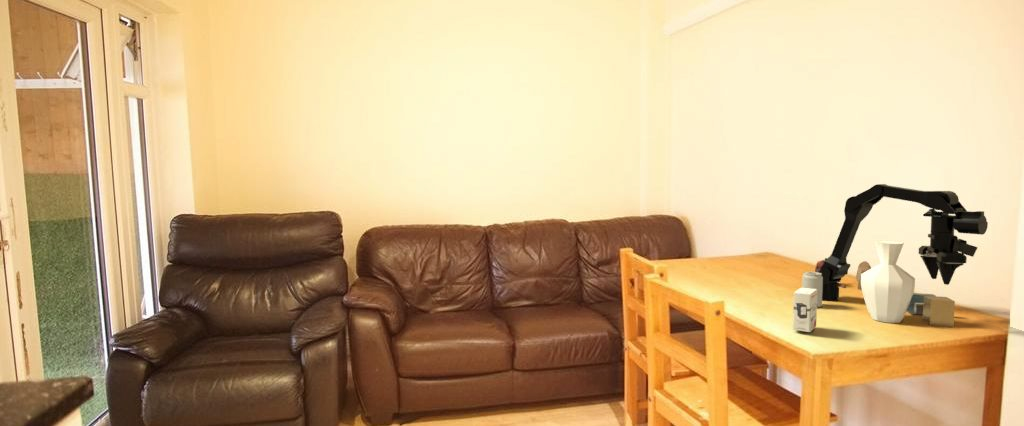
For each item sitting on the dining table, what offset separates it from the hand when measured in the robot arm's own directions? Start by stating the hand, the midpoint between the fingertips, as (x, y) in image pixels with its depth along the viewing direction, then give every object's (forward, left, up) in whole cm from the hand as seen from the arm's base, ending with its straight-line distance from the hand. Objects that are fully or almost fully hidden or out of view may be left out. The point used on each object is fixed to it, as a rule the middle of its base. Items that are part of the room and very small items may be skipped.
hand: (940, 281), depth 171 cm
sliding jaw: (+2, +22, -13) cm, 26 cm away
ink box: (-40, -18, -13) cm, 46 cm away
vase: (-14, +1, -13) cm, 19 cm away
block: (0, 0, -13) cm, 13 cm away
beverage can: (-33, +13, -13) cm, 38 cm away
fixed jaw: (+2, +9, -13) cm, 16 cm away
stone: (-8, +51, -14) cm, 54 cm away
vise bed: (+1, +16, -13) cm, 21 cm away
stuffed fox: (-21, +47, -13) cm, 53 cm away
